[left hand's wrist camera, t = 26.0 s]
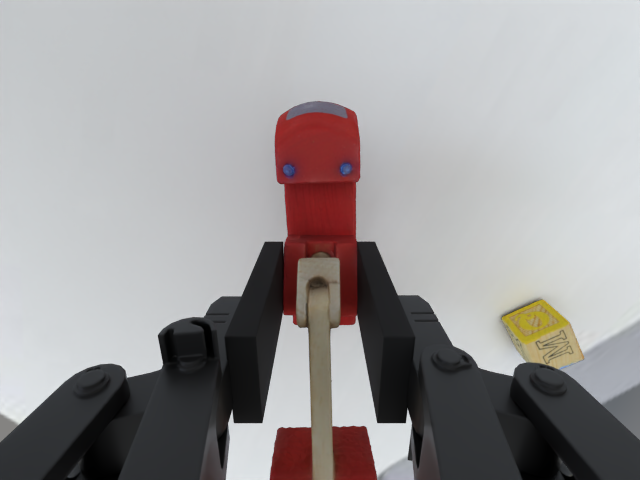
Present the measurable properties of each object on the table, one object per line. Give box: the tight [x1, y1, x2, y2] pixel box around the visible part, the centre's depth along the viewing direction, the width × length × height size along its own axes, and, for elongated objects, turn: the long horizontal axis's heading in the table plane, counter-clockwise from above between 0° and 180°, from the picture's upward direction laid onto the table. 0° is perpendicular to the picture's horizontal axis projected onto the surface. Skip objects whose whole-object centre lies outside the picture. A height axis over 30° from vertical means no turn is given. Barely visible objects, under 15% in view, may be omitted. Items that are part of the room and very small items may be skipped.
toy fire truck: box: [270, 101, 377, 480], centre depth 13 cm, size 3×14×10 cm, turn 1°
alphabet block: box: [502, 300, 584, 370], centre depth 23 cm, size 3×3×3 cm
